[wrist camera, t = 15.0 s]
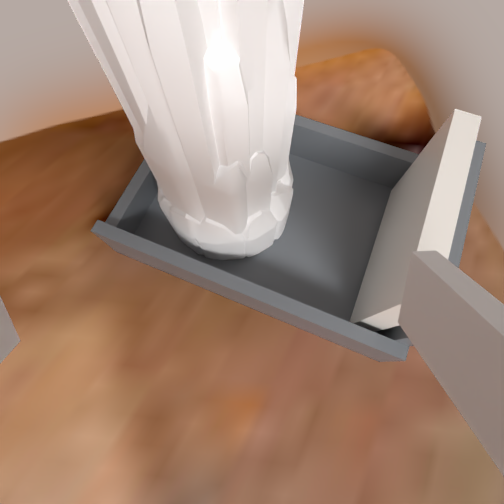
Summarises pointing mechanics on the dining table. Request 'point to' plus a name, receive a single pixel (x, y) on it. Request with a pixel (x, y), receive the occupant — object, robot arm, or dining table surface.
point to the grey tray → (297, 237)
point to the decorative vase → (207, 109)
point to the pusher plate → (417, 219)
